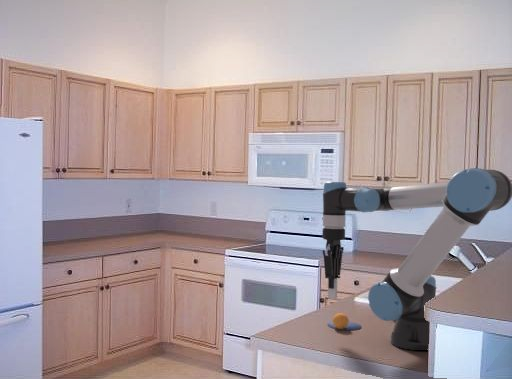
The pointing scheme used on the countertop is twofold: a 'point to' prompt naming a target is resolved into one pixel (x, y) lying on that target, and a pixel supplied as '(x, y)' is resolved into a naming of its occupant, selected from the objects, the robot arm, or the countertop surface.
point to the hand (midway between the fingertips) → (332, 297)
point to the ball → (340, 321)
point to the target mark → (349, 327)
